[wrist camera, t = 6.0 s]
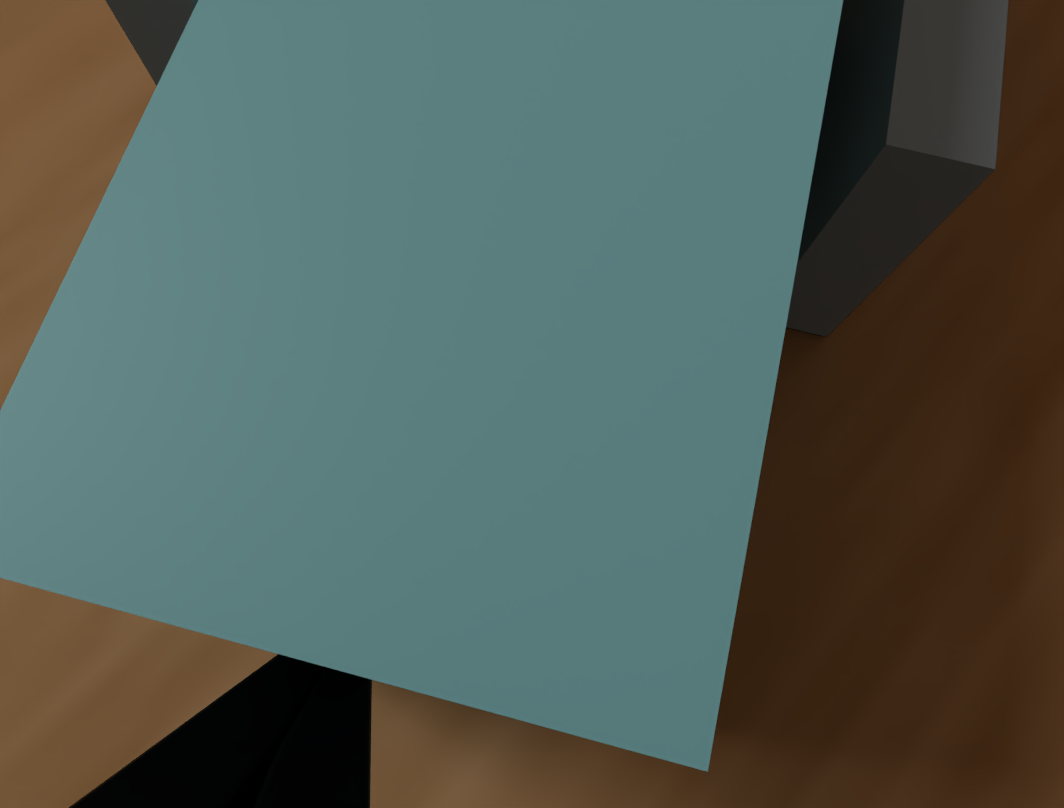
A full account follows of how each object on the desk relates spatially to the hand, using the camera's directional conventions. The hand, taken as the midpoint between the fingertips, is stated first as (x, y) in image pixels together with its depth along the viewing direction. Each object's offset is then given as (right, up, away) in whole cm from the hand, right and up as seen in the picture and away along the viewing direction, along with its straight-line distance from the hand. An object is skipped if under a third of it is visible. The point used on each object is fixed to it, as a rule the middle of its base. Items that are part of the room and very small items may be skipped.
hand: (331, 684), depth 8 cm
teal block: (+2, +6, +9) cm, 11 cm away
